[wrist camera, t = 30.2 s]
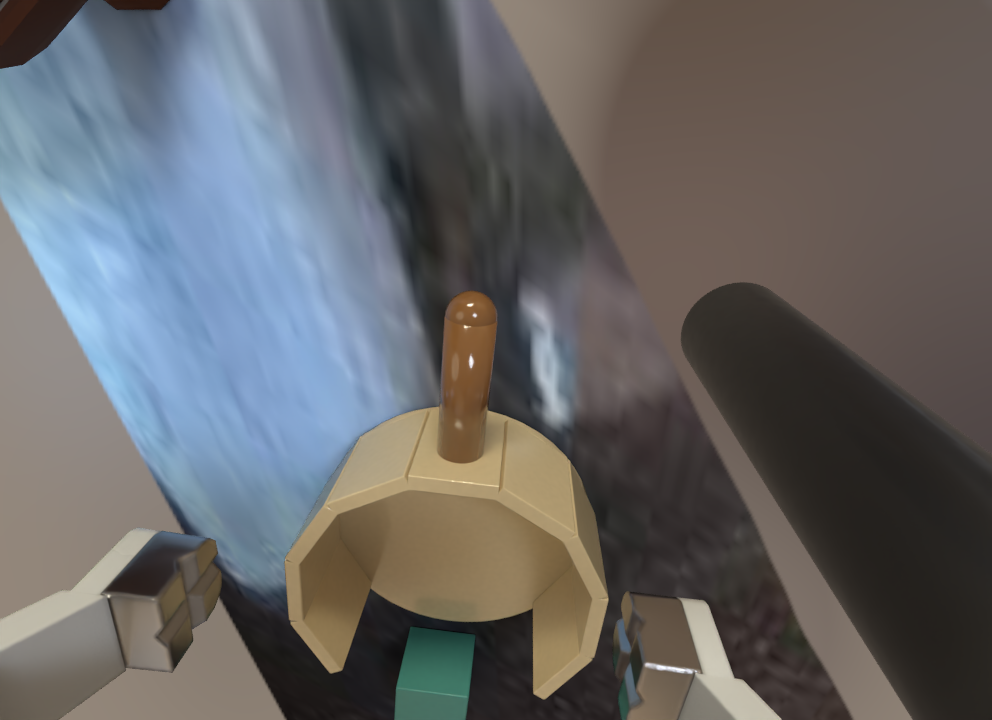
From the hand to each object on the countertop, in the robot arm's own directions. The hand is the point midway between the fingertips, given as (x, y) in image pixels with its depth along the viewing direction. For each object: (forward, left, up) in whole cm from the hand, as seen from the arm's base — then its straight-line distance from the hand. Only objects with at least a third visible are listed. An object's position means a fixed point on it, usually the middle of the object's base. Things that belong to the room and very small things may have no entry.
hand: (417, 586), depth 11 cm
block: (+1, +20, -14) cm, 24 cm away
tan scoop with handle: (0, +8, -15) cm, 17 cm away
